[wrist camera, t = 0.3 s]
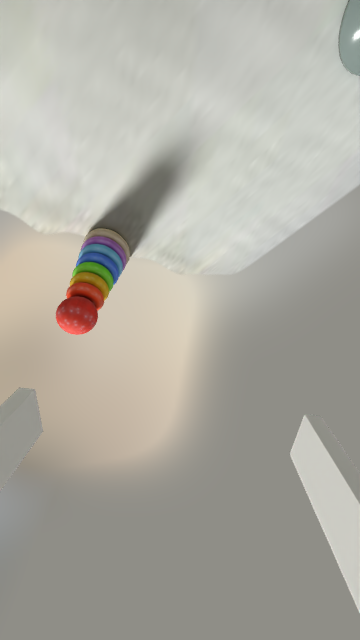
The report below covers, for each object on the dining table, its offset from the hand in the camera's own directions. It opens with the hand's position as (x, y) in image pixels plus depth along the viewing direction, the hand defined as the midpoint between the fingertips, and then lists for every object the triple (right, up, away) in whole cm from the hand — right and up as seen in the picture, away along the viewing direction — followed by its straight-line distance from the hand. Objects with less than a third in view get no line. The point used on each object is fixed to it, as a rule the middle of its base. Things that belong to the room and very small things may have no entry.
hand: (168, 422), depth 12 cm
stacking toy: (-12, +18, +30) cm, 37 cm away
